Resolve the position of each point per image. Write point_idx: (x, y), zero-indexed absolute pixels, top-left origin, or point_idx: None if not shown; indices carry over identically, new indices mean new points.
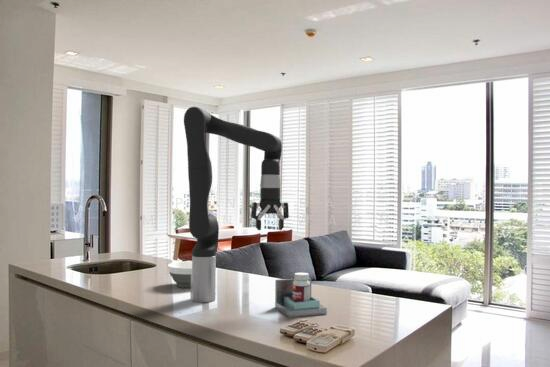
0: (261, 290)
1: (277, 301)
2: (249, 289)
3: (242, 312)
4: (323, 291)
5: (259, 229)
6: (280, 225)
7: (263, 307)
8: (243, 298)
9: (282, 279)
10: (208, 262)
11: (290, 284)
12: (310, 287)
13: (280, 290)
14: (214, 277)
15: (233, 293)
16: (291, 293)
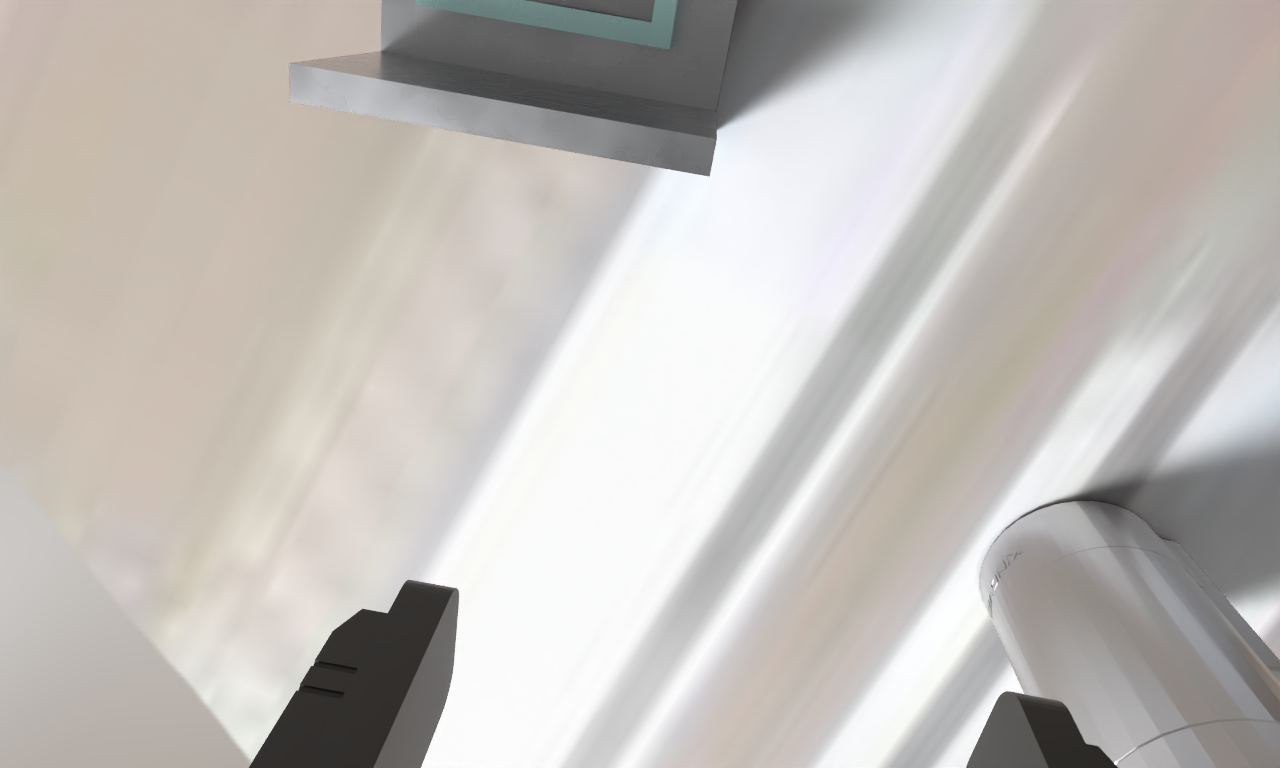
0: (552, 613)
1: (706, 109)
2: (617, 671)
3: (1039, 111)
4: (116, 388)
5: (1054, 700)
6: (422, 668)
7: (800, 173)
8: (790, 481)
9: (627, 157)
10: (1266, 739)
11: (557, 103)
12: (343, 58)
13: (674, 116)
14: (1091, 637)
15: (778, 628)
16: (561, 92)
